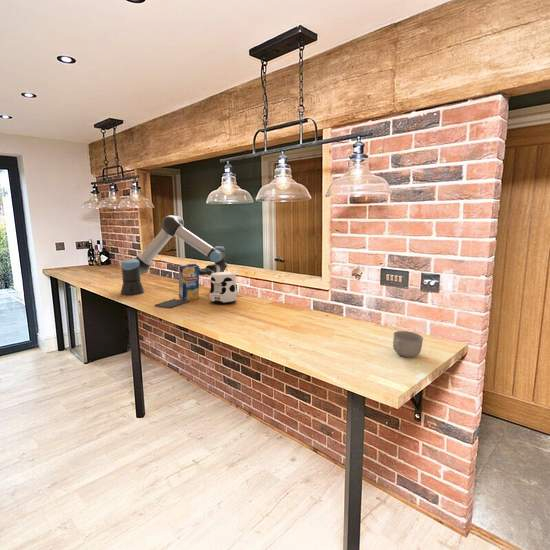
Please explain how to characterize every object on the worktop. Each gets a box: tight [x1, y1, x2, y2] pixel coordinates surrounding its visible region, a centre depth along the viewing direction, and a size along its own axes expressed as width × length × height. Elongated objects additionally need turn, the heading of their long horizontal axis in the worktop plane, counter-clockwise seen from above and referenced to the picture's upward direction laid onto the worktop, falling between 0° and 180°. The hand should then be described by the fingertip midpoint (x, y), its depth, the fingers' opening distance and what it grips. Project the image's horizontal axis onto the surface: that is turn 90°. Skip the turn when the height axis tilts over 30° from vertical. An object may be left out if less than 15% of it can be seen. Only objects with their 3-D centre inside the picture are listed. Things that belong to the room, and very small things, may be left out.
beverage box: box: [178, 263, 200, 301], centre depth 235 cm, size 7×11×22 cm, turn 124°
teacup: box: [392, 330, 424, 358], centre depth 140 cm, size 14×11×8 cm
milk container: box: [209, 271, 238, 305], centre depth 228 cm, size 17×17×18 cm
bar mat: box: [154, 298, 191, 309], centre depth 225 cm, size 12×18×1 cm, turn 154°
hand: (191, 274), depth 237 cm, fingers closed
